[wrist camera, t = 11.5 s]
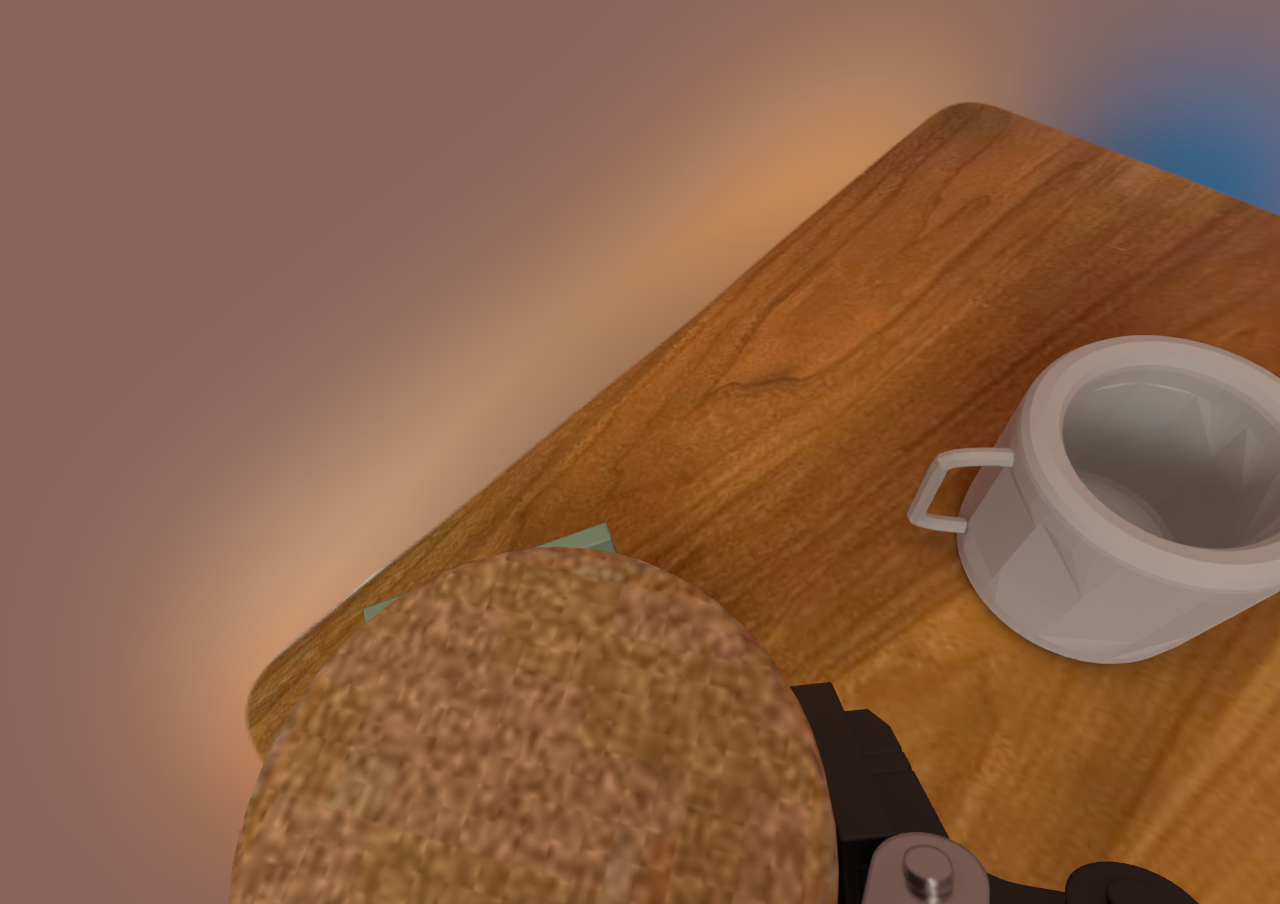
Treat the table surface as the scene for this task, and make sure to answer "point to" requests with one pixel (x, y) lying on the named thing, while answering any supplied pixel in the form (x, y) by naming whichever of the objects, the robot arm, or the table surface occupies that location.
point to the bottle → (543, 752)
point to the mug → (1124, 499)
